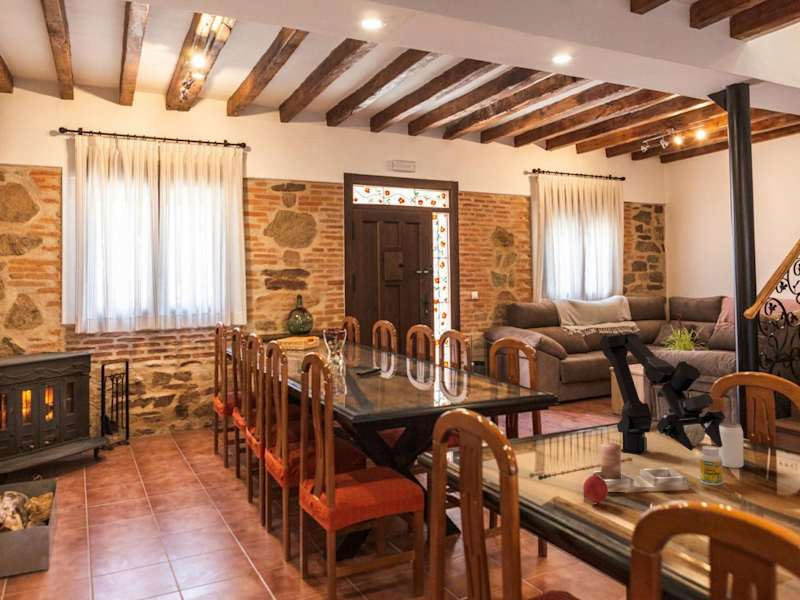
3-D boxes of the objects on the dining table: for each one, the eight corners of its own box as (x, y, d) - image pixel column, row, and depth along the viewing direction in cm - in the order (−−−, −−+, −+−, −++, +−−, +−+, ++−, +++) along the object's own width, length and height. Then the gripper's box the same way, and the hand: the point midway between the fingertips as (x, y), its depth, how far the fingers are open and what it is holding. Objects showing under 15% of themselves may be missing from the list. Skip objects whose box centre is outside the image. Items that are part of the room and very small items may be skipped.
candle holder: (600, 493, 159) (599, 450, 158) (587, 482, 168) (587, 441, 167) (688, 489, 160) (687, 447, 159) (671, 478, 169) (670, 438, 168)
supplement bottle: (720, 480, 166) (719, 445, 166) (724, 486, 161) (723, 450, 161) (698, 479, 168) (698, 444, 168) (701, 485, 163) (701, 449, 163)
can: (746, 469, 176) (746, 427, 175) (722, 468, 177) (721, 427, 177) (739, 462, 182) (738, 422, 182) (715, 461, 183) (715, 422, 183)
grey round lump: (689, 448, 208) (689, 419, 210) (712, 449, 200) (712, 419, 203) (671, 443, 203) (672, 413, 206) (694, 444, 196) (695, 413, 199)
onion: (579, 500, 154) (579, 469, 153) (602, 499, 154) (601, 468, 154) (589, 509, 148) (588, 476, 148) (612, 507, 148) (611, 475, 148)
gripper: (662, 386, 169) (691, 434, 158) (719, 381, 173) (751, 428, 162) (645, 409, 176) (671, 457, 166) (700, 404, 181) (729, 451, 170)
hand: (706, 448), depth 166 cm, fingers open, 9 cm apart
